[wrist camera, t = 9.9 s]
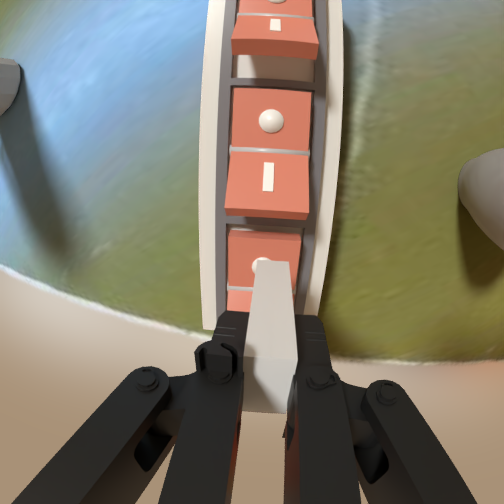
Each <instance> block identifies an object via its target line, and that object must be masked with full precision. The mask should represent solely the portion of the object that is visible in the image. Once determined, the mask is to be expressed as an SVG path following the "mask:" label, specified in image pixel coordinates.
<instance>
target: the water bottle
mask: <svg viewBox="0 0 504 504" xmlns="http://www.w3.org/2000/svg"><path fill="white" fill-rule="evenodd" d="M19 83H20V67H19V65H18V64H17V63H16V62H15V60H12V59H4V58H0V116H1V115H2V114H3V113H4V112H5V111H6V110H7V109H8V108H9V107H10V106H11V104H12V102H13V100H14V98H15V96H16V94H17V92H18V87H19Z"/></svg>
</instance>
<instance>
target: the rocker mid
mask: <svg viewBox="0 0 504 504" xmlns="http://www.w3.org/2000/svg"><path fill="white" fill-rule="evenodd" d="M310 109H311V93H310V92H301V91H290V90H276V89H256V88H234V99H233V121H232V145H230V149H229V155H230V164H229V172H228V181H227V189H226V198H225V207H224V208H225V212H226V215H227V216H247V217H265V218H281V219H295V220H306V219H307V216H308V214H309V172H308V161H309V158H310V150H309V149H308V146H309V129H310Z"/></svg>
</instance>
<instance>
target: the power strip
mask: <svg viewBox="0 0 504 504" xmlns="http://www.w3.org/2000/svg"><path fill="white" fill-rule="evenodd" d="M239 5H240V0H209V7H208V16H207V26H206V37H205V48H204V61H203V75H202V92H201V113H200V141H199V248H200V278H201V299H202V317H203V329H208V330H215V328H216V323H217V320H218V317H219V316H220V315H221V314H222V313H223V312H224V311H225V310H227V302H228V291H227V282H228V236H229V233H230V230H245V231H262V232H278V233H294V234H300V238H301V246H300V254H299V262H298V269H297V277H296V284H295V285H296V295H295V296H294V306H293V308H294V314H301V315H316V316H317V315H318V309H319V304H320V299H321V293H322V288H323V282H324V276H325V270H326V264H327V257H328V251H329V244H330V237H331V230H332V222H333V214H334V206H335V197H336V187H337V177H338V166H339V154H340V141H341V124H342V103H343V22H342V2H341V0H312V17H314V27H315V30H316V34H317V38H318V42H319V47H318V53H317V58H316V60H313V59H304V58H294V57H282V56H265V55H232V47H231V37H232V34H233V30H234V27H235V24H236V21H237V13H239ZM234 88H256V89H276V90H290V91H301V92H310V93H311V109H310V129H309V146H308V149H309V150H310V158H309V161H308V172H309V214H308V216H307V219H306V220H295V219H281V218H265V217H247V216H227V215H226V212H225V208H224V207H225V198H226V189H227V181H228V172H229V164H230V155H229V149H230V145H232V121H233V99H234Z"/></svg>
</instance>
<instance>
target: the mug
mask: <svg viewBox="0 0 504 504" xmlns="http://www.w3.org/2000/svg"><path fill="white" fill-rule="evenodd" d="M458 193H459V197H460V200H461V202H462V204H463V205H464V207H465V208H466V209H467V210H468V212H469V213H470V215H471V217H472V218H473V220H474V221H475V222H476V224H477V225H478V226H479V228H480V229H481V230H482V231H483V232H484V233H485V234H486V235H487V236H488V237H489V238H490V239H491V240H492V241H493V242H494V243H495V244H496V245H498V246H499V247H500V248H501V249H502V250H504V148H502V149H496V150H492V151H489V152H486V153H484V154H482V155H480V156H478V157H477V158H475V159H471V160H469V161H468V162H466V163H465V165H464V166H463V167H462V169H461V172H460V174H459V179H458Z"/></svg>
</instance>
